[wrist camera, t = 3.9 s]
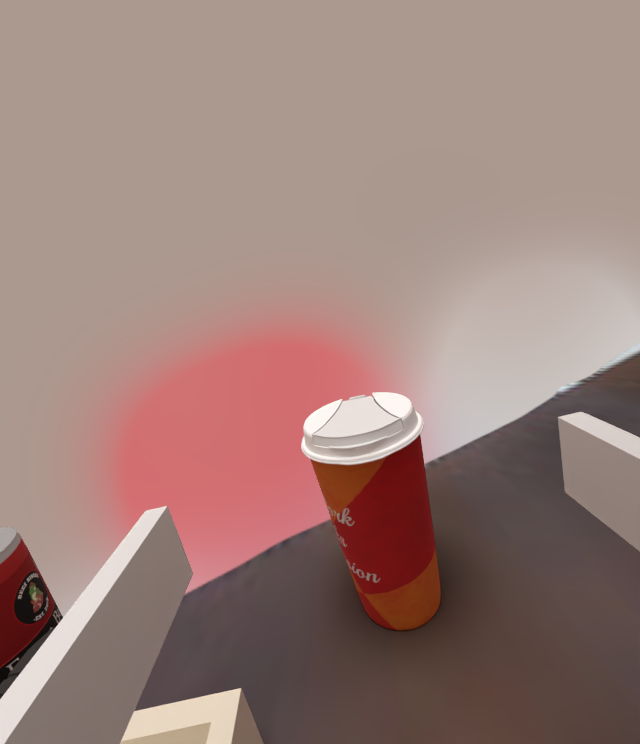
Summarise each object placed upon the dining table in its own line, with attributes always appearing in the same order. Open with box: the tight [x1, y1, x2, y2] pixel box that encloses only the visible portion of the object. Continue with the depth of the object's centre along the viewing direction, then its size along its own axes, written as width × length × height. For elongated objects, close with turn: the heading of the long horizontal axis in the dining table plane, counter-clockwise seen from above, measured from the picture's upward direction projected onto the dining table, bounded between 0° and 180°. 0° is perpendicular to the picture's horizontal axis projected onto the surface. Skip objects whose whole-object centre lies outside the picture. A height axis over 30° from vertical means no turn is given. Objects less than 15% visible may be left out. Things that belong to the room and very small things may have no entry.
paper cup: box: [301, 392, 441, 631], centre depth 23 cm, size 8×8×14 cm
